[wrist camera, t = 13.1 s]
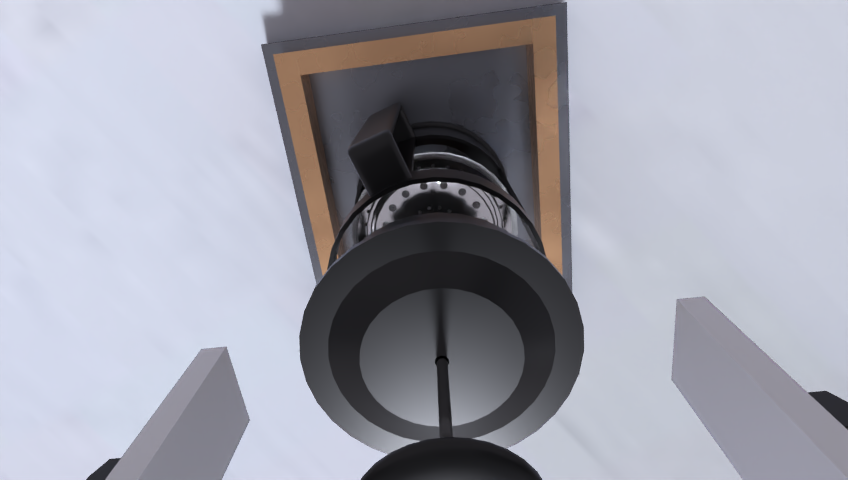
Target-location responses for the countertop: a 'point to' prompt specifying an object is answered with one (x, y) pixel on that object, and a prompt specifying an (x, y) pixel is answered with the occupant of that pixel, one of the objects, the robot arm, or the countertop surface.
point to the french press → (439, 311)
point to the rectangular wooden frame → (431, 111)
